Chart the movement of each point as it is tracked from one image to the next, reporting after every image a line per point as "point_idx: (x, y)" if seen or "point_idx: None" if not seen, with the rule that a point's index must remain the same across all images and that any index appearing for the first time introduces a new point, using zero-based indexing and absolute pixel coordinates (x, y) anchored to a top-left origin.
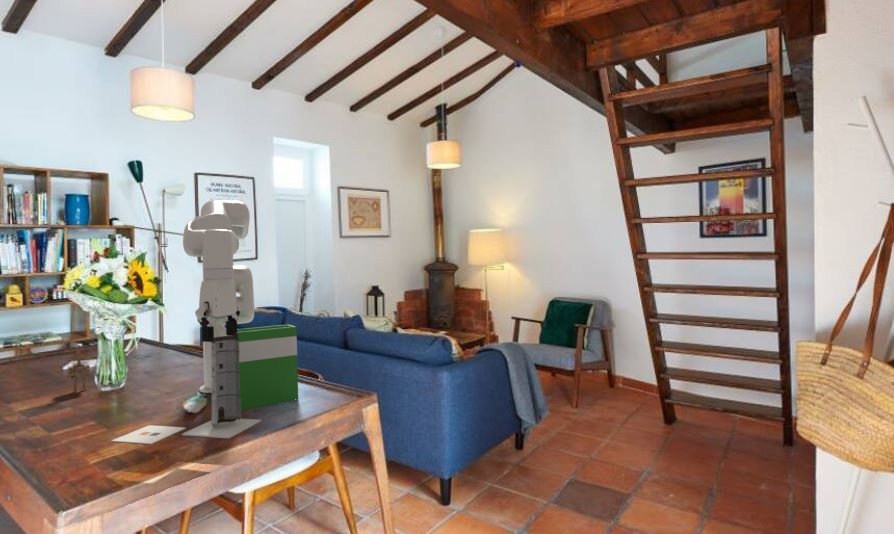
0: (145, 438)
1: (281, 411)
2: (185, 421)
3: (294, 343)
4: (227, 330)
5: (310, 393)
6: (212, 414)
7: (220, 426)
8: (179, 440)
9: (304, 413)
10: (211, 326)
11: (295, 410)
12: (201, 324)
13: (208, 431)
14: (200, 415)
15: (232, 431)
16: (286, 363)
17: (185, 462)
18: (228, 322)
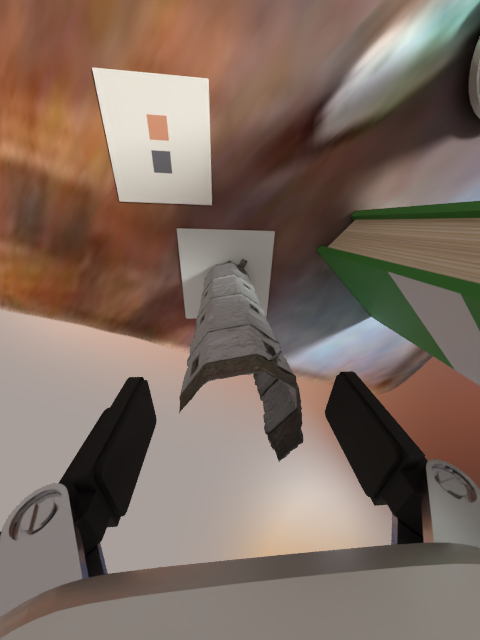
0: (134, 161)
1: (316, 319)
2: (252, 164)
3: None
4: (351, 400)
5: None
6: (211, 274)
7: None
8: (155, 243)
9: (305, 354)
10: (105, 521)
11: (320, 336)
12: (5, 536)
13: (199, 270)
14: (295, 170)
15: None
16: (425, 343)
17: (91, 318)
18: (384, 463)
